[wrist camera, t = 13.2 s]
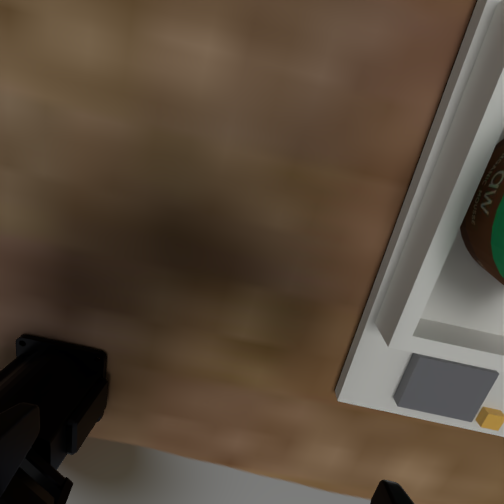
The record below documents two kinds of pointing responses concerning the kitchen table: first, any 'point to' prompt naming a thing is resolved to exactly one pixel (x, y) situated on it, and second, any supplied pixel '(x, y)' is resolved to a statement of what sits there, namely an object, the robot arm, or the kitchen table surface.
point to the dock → (441, 265)
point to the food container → (488, 218)
